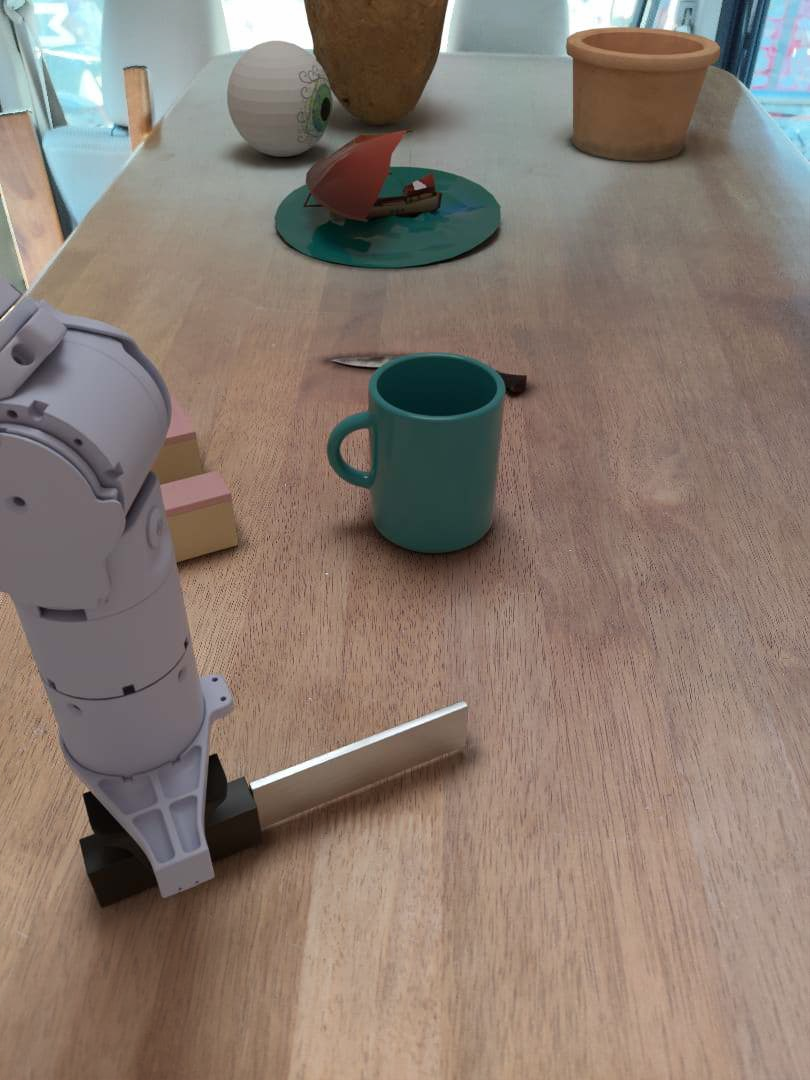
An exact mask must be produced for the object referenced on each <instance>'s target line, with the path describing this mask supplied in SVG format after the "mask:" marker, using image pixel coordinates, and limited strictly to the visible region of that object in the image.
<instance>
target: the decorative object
mask: <svg viewBox="0 0 810 1080" xmlns="http://www.w3.org/2000/svg"><path fill="white" fill-rule="evenodd" d="M226 96H227V99H226V101H227V102H226V104H227V108H228V113H229V116H230V119H231V121H232V124H233V126H234V128H235V129H236V130H237V132H238V133H239V135H240V136H241V137H242V139H243V140H244V141H245V142H246V143H247V145H250V146H251V147H252V148H254V149H255V150H257V151H258V152H260V153H262V154H265V155H268V156H271V157H277V158H278V157H279V158H287V157H295V156H298V155H300V154H302V153H304V152H307V151H308V150H310V149H311V148H312V147H314V146H315V145H316V144H317V143H318V142H319V141H320V139H322V137H323V135H324V133H325V132H326V130H327V128H328V125H329V123H330V121H331V117H332V113H333V93H332V90H331V88H330V85H329V81H328V78H327V76H326V74H325V72H324V70H323V68H322V66H321V65H320V64H319V63H318V61H317V60H316V57H315V56H313V55H312V54H311V53H310V52H308V50H306V49H305V48H303V47H301V46H300V45H297V44H295V43H291V42H287V41H284V40H268V41H265V42H262V43H258V44H256V45H254V46H253V47H251V48H249V49H248V50H246V52H244V54H242V56H241V57H240V58H239V59H238V60H237V62H236V63H235V64H234V66H233V67H232V71H231V73H230V75H229V79H228V84H227V89H226Z"/></svg>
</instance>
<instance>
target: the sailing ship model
mask: <svg viewBox="0 0 810 1080" xmlns="http://www.w3.org/2000/svg"><path fill="white" fill-rule="evenodd" d="M412 132H413V129H408V130H401V131H394V132H388V133H383V134H375V135H374V134H373V135H371V134H362V133H361V134H358V135H357V136H356V137H354V138H353V139H351V140H350V141H349V142H347V143H346V144H344V145H343V146H342V147H340V148H339V149H337V150H336V151H334V152H332V153H331V154H328V155H327V156H323V157H322V158H321V159H319V160H317V161H316V162H315V163H313V165H311V167H310V169H308V171H307V172H306V174H305V184H303V185H302V186H300V187H299V186H298V188H296V189H294V190H292V191H291V192H290V193H289V194H287V195H286V196H285V198H283V199H282V201H281V202H280V204H279V205H278V207H277V209H276V212H275V214H274V222H275V226H276V230H277V232H278V233H279V235H280V236H281V237H282V238H283V240H284V242H286V243H287V244H288V245H290V246H291V247H292V248H294V249H296V250H297V251H298V252H300V253H301V254H303V255H306V256H308V257H311V258H315V259H318V260H323V261H326V262H332V263H337V264H342V265H349V266H355V267H363V268H383V269H384V268H387V269H397V268H407V267H413V266H421V265H422V266H423V265H428V264H432V263H436V262H440V261H443V260H448V259H452V258H454V257H457V256H458V255H462V254H463V253H466V252H468V251H470V250H472V249H473V248H475V247H477V246H478V245H481V244H482V243H484V242H485V241H486V240H487V239H488V238H489V237H490V236H492V235H493V234H494V233H495V232H496V231H497V229H498V227H499V226H500V223H501V219H502V216H501V214H502V213H501V205H500V204H499V202H498V201H497V200H496V198H495V196H494V195H493V194H492V193H491V192H490V191H489V190H487V189H486V188H485V187H483V186H482V185H481V184H479V183H477V182H475V181H472V180H471V179H469V178H466V177H464V176H461V175H457V174H455V173H452V172H448V171H443V170H440V169H435V168H434V169H433V168H426V167H419V166H418V167H416V166H391V162H392V161H391V160H392V155H393V153H394V152H395V150H396V148H397V147H398V146H399V144H400V142H401V141H402V140H403V138H404V136H405V135H406V134H407V133H412ZM411 152H412V151H410V153H409V154H410V155H409V156H410V158H409V159H410V160H411V155H412V153H411Z"/></svg>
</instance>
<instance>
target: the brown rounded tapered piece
mask: <svg viewBox="0 0 810 1080" xmlns="http://www.w3.org/2000/svg"><path fill="white" fill-rule="evenodd" d="M303 3H304V10H305V14H306V19H307V25H308V28H309V32H310V35H311V40H312V45H313V46H312V48H313V49H312V53H313V55H314V58H315V59H316V60H317V61H318V63H319V64H320V65H321V66H322V68H323V70H324V72H325V74H326V76H327V78H328V81H329V85H330V88H331V93H332V95H334V97H335V98H336V99H337V101H338V103H340V105H341V106H342V107H343V108H344V109H345V110H346V111H347V112H348V114H351V116H352V117H355V118H356V119H357V120H360V121H361V122H363V123H366V124H369V125H371V126H382V125H386V124H390V123H395V122H399V121H401V120H403V119H404V118H406V117H407V116H408V115H410V114H411V112H413V110H414V109H415V108H416V106H417V104H419V101H420V99H421V97H422V95H423V93H424V91H425V88H426V86H427V84H428V82H429V80H430V78H431V76H432V74H433V72H434V70H435V67H436V64H437V62H438V57H439V54H440V52H441V46H442V40H443V39H442V38H443V33H444V28H445V20H446V16H447V10H448V5H449V0H303Z"/></svg>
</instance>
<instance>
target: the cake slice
mask: <svg viewBox="0 0 810 1080" xmlns="http://www.w3.org/2000/svg"><path fill="white" fill-rule="evenodd" d="M160 488H161V492H162V497H163V502H164V507H165V512H166V517H167V522H168V527H169V531H170V534H171V538H172V543H173V548H174V554H175V559H176V564H177V563H180V562H183V561H186V560H187V561H188V560H190V559H194V558H197V557H201V556H204V555H208V554H211V553H215V552H218V551H222V550H225V549H229V548H232V547H236V546H238V545H239V541H238V540H239V539H238V533H237V526H236V519H235V511H234V506H233V504H234V503H233V497H232V492H231V490H230V489H229V487H228V485H227V484H226V482H225V480H224V478H223V476H222V475H221V473H220V471H219V470H218V469H217V470H213V471H209V472H206V473H202V474H201V475H197V476H193V477H189V478H186V479H182V480H178V481H174V482H170V483H166V484H162V485H160Z"/></svg>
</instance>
